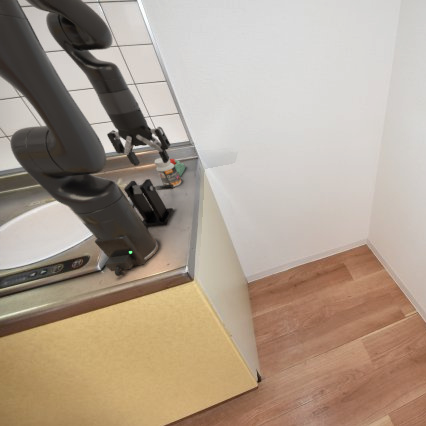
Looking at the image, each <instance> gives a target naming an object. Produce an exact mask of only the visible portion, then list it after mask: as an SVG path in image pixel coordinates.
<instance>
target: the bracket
mask: <svg viewBox="0 0 426 426" xmlns="http://www.w3.org/2000/svg"><path fill="white" fill-rule="evenodd" d="M135 185H138V183H137V182H136V180H130V182H129V183H128V184H127V185H126V186H125V188H123V191H124V193H126V195H127V196H128V198H129V199H130V201H131V203H132V204H133V206H134V208H136V210H137V211H138V213H139V214H140V216H141V218H142V219H143V220H142V221H143V223H144V224H145V226H146V227H147V228H152V227H161V226H162V227H163V226H167V225H168V223H169V221H170V219H171V217H172V215H173V213H174V212H175V210H174V208H173V207H169V208H167V207H166V205H165V203H164V202H163V200H162V198H161V196H160V195H159V193H158V190H156V189H155V185H154V184H153V182H152V180H151V179H150V178H147V179H145V180H144V181H143V182H142V184H140V185H141V187H140V189H141V191H142V193H143V194H134V192H133V188H132V186H135Z"/></svg>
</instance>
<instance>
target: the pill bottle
mask: <svg viewBox="0 0 426 426" xmlns="http://www.w3.org/2000/svg"><path fill="white" fill-rule="evenodd" d="M170 159H171V158H169V160H168V162H167V163H164V162H163V160H162V158H161V157H159V158H156V159H154V165H155V166H156V172H157V174H158V175H159V178H160V180H161V181H162V183H163V185H171V184H173V186H174V188H175V187H178V186H179V185H181V183H182V179H181V176H179V175H178V172H177V170H176V168H175V166H174V164H172V163H170Z"/></svg>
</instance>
